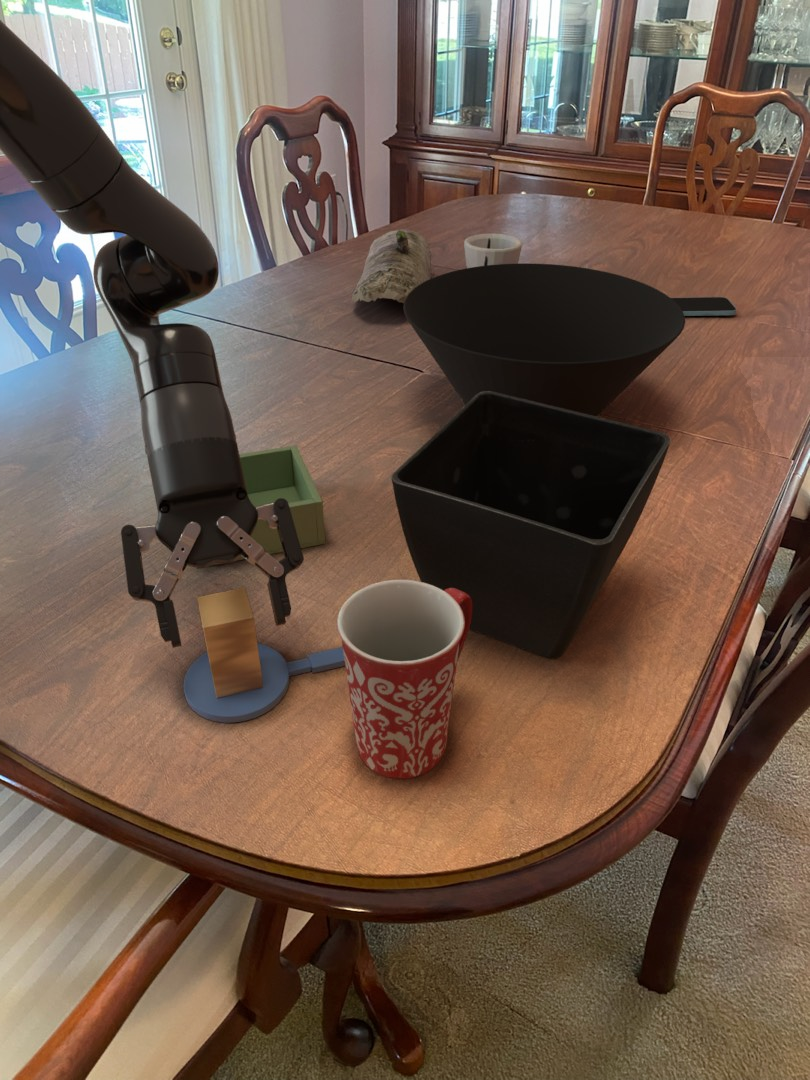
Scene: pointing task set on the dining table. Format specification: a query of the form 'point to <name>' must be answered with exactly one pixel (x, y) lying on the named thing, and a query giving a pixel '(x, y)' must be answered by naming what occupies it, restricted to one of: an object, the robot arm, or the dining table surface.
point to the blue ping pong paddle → (256, 700)
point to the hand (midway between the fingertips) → (230, 635)
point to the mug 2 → (491, 250)
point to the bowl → (542, 331)
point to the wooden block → (231, 642)
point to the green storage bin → (283, 495)
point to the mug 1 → (402, 671)
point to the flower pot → (526, 512)
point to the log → (394, 266)
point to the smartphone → (705, 306)
